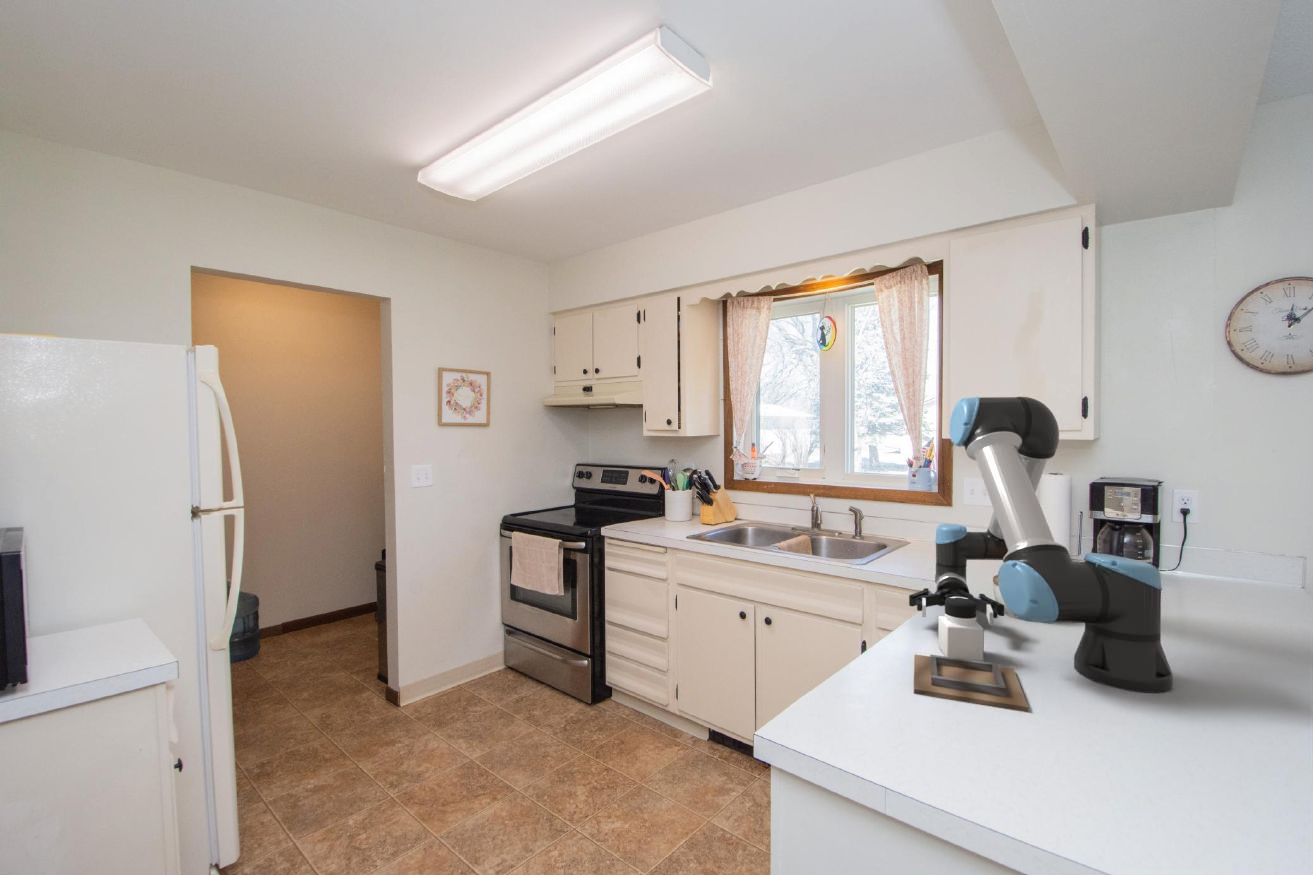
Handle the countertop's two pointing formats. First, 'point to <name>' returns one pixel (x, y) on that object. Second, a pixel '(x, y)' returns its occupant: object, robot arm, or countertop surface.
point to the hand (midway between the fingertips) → (957, 614)
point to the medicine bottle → (961, 630)
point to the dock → (968, 681)
